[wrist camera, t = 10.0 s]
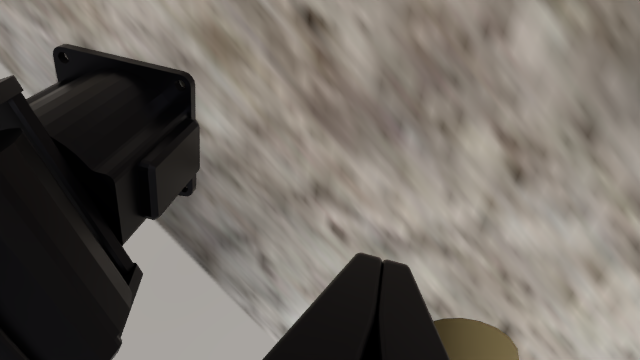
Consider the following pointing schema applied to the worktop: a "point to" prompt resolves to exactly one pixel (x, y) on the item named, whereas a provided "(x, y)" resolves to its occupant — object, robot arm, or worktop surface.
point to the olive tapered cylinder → (474, 340)
